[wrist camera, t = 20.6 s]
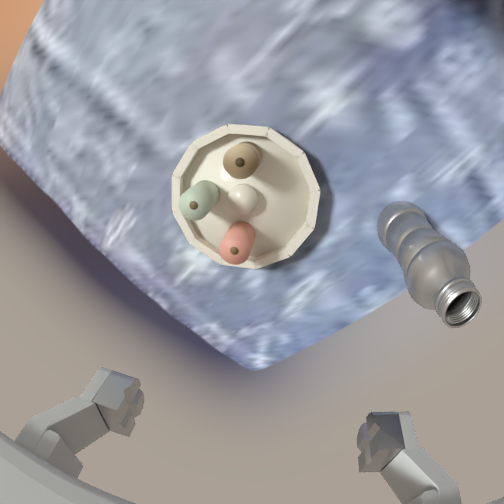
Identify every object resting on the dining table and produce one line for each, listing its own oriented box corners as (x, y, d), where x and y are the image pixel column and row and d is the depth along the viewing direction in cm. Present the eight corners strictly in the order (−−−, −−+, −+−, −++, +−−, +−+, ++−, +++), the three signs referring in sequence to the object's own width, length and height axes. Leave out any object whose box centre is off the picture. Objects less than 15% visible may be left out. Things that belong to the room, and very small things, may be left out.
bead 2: (233, 140, 35) (223, 144, 30) (263, 142, 34) (258, 146, 30) (231, 169, 36) (222, 178, 32) (261, 172, 36) (256, 180, 31)
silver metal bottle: (426, 223, 36) (504, 307, 18) (389, 253, 39) (442, 354, 21) (402, 186, 35) (483, 254, 17) (363, 218, 37) (412, 310, 19)
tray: (179, 121, 35) (173, 122, 33) (325, 133, 34) (327, 134, 32) (178, 250, 43) (173, 257, 41) (306, 267, 41) (306, 275, 39)
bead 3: (228, 219, 39) (219, 234, 34) (256, 222, 39) (251, 238, 34) (227, 245, 40) (218, 262, 36) (254, 248, 40) (248, 266, 36)
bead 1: (192, 178, 37) (178, 188, 33) (220, 181, 37) (209, 191, 32) (192, 206, 39) (178, 219, 34) (219, 208, 38) (208, 222, 34)
